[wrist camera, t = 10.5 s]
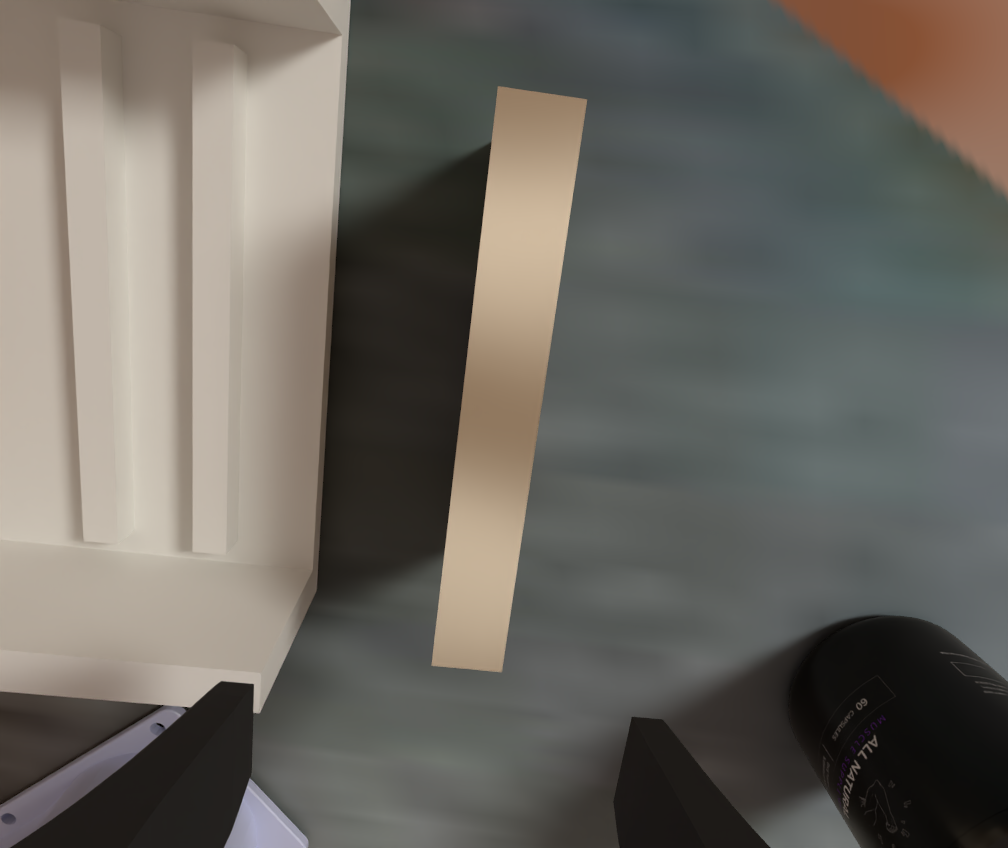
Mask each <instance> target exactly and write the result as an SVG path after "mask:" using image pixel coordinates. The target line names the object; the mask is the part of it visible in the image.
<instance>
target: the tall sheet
mask: <svg viewBox="0 0 1008 848" xmlns="http://www.w3.org/2000/svg"><path fill="white" fill-rule="evenodd" d="M586 103H587V99H580V98H573V97H566V96H560V95H553V94H546V93H539V92H533V91H526V90H519V89H513V88H506V87H499V86H498V92H497V100H496V109H495V118H494V127H493V135H492V144H491V153H490V161H489V170H488V179H487V188H486V196H485V205H484V214H483V222H482V231H481V240H480V248H479V257H478V266H477V275H476V283H475V292H474V301H473V309H472V318H471V327H470V336H469V344H468V353H467V362H466V370H465V379H464V388H463V397H462V405H461V414H460V423H459V431H458V440H457V449H456V458H455V466H454V475H453V484H452V492H451V501H450V510H449V519H448V527H447V536H446V545H445V553H444V562H443V571H442V580H441V588H440V597H439V606H438V614H437V623H436V632H435V641H434V649H433V658H432V666H441V667H452V668H463V669H474V670H485V671H496V672H502V667H503V660H504V653H505V646H506V640H507V633H508V626H509V620H510V613H511V606H512V600H513V593H514V586H515V579H516V573H517V566H518V559H519V553H520V546H521V539H522V532H523V526H524V519H525V512H526V506H527V499H528V492H529V486H530V479H531V472H532V465H533V459H534V452H535V445H536V439H537V432H538V425H539V418H540V412H541V405H542V398H543V392H544V385H545V378H546V372H547V365H548V358H549V351H550V345H551V338H552V331H553V325H554V318H555V311H556V304H557V298H558V291H559V284H560V278H561V271H562V264H563V258H564V251H565V244H566V237H567V231H568V224H569V217H570V211H571V204H572V197H573V191H574V184H575V177H576V170H577V164H578V157H579V150H580V144H581V137H582V130H583V123H584V117H585V110H586Z"/></svg>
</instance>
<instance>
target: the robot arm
mask: <svg viewBox="0 0 1008 848" xmlns="http://www.w3.org/2000/svg"><path fill="white" fill-rule="evenodd" d="M253 704H254V684H249V683H238V682H226V681H220V682H219V683H218V684H216V685H215V686H214V687H213V688H212V689H210V690H209V691H208V692H207V693H206V694H205V695H204V696H203V697H202V698H200V699H199V700H198V701H197V702H196V703H195V704H194V705H193V706H192V707H191V708H189V709H188V710H187V711H186V710H185V709H184V708H183V707H180V706H169V705H164V706H163V707H161V708H159V709H158V710H156V711H154V712H153V713H151V714H149V715H148V716H146V717H144V718H143V719H141V720H140V721H138V722H136V723H135V724H133V725H131V726H130V727H128V728H126V729H125V730H123V731H121V732H120V733H118V734H117V735H115V736H113V737H112V738H110V739H108V740H107V741H105V742H103V743H102V744H100V745H98V746H97V747H95V748H93V749H92V750H90V751H89V752H87V753H85V754H84V755H82V756H80V757H79V758H77V759H75V760H74V761H72V762H70V763H69V764H67V765H65V766H64V767H62V768H61V769H59V770H57V771H56V772H54V773H52V774H51V775H49V776H47V777H46V778H44V779H42V780H41V781H39V782H37V783H36V784H34V785H33V786H31V787H29V788H28V789H26V790H24V791H23V792H21V793H19V794H18V795H16V796H14V797H13V798H11V799H9V800H8V801H6V802H5V803H3V804H1V805H0V848H308V840H307V838H306V837H305V836H304V834H303V833H302V832H301V831H300V830H299V829H298V828H297V827H296V826H295V825H294V824H293V823H292V822H291V821H290V820H289V819H288V818H287V817H286V815H285V814H284V813H283V812H282V811H281V810H280V809H279V808H278V807H277V806H276V805H275V804H274V803H273V802H272V801H271V800H270V799H269V798H268V797H267V795H266V794H265V793H264V792H263V791H262V790H261V789H260V788H259V787H258V786H257V785H256V784H255V783H254V782H253V781H252V780H251V779H250V776H251V772H252V738H253ZM157 723H160V724H162V725H164V727H160V726H159V725H157ZM614 809H615V817H616V825H617V833H618V839H619V846H620V848H770V847H769V846H768V845H767V844H766V843H765V841H764V840H763V839H762V838H761V837H760V836H759V835H758V834H757V833H756V832H755V831H754V830H753V829H752V828H751V826H750V825H749V824H748V823H747V822H746V821H745V820H744V818H743V817H742V816H741V815H740V814H739V813H738V812H737V811H736V809H735V808H734V807H733V806H732V805H731V804H730V802H729V801H728V800H727V799H726V798H725V796H724V795H723V794H722V793H721V792H720V791H719V789H718V788H717V787H716V786H715V785H714V783H713V782H712V781H711V780H710V778H709V777H708V776H707V775H706V773H705V772H704V771H703V770H702V768H701V767H700V766H699V765H698V763H697V762H696V761H695V760H694V758H693V757H692V756H691V755H690V753H689V752H688V751H687V750H686V748H685V747H684V746H683V744H682V743H681V742H680V741H679V739H678V738H677V737H676V736H675V734H674V733H673V732H672V731H671V729H670V728H669V727H668V726H667V724H666V723H665V722H664V721H663V720H661V719H650V718H638V717H632V719H631V724H630V728H629V733H628V737H627V742H626V747H625V751H624V756H623V760H622V765H621V770H620V774H619V779H618V783H617V788H616V793H615V797H614Z"/></svg>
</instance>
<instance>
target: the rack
mask: <svg viewBox="0 0 1008 848" xmlns="http://www.w3.org/2000/svg"><path fill="white" fill-rule="evenodd" d="M350 4H351V0H0V691H3V692H15V693H27V694H38V695H50V696H62V697H74V698H86V699H98V700H109V701H121V702H133V703H145V704H157V705H169V706H180V707H192V706H193V705H194V704H195V703H196V702H197V701H198V700H199V699H200V698H202V697H203V696H204V695H205V694H206V693H207V692H208V691H209V690H210V689H212V688H213V687H214V686H215V685H216V684H218V683H219V682H220V681H226V682H238V683H249V684H254V704H253V713H260V712H261V709H262V707H263V705H264V703H265V701H266V699H267V696H268V694H269V692H270V690H271V688H272V686H273V684H274V681H275V679H276V677H277V675H278V673H279V671H280V668H281V666H282V664H283V662H284V660H285V658H286V656H287V653H288V651H289V649H290V647H291V645H292V643H293V640H294V638H295V636H296V634H297V632H298V630H299V628H300V625H301V623H302V621H303V619H304V617H305V615H306V612H307V610H308V608H309V606H310V604H311V602H312V599H313V597H314V595H315V593H316V591H317V577H318V560H319V542H320V525H321V508H322V490H323V473H324V456H325V438H326V421H327V403H328V386H329V369H330V351H331V334H332V316H333V299H334V282H335V264H336V247H337V230H338V212H339V195H340V177H341V160H342V143H343V125H344V108H345V90H346V73H347V56H348V38H349V21H350Z"/></svg>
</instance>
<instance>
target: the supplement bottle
mask: <svg viewBox="0 0 1008 848" xmlns="http://www.w3.org/2000/svg"><path fill="white" fill-rule="evenodd" d="M788 708H789V718H790V723H791V727H792V730H793V732H794V735H795V737H796V739H797V741H798V743H799V745H800V746H801V748H802V750H803V752H804V753H805V755H806V757H807V759H808V761H809V762H810V764H811V766H812V767H813V769H814V771H815V772H816V774H817V776H818V777H819V779H820V781H821V782H822V784H823V786H824V787H825V789H826V791H827V792H828V794H829V796H830V797H831V799H832V800H833V802H834V804H835V805H836V807H837V809H838V810H839V812H840V814H841V815H842V817H843V819H844V820H845V822H846V824H847V825H848V827H849V829H850V830H851V832H852V834H853V835H854V837H855V839H856V840H857V842H858V844H859V845H860V847H861V848H1008V682H1007V681H1006V680H1005V679H1004V678H1003V677H1002V676H1001V675H999V674H998V673H997V672H996V671H995V670H994V669H993V668H992V667H990V666H989V665H988V664H987V663H986V662H985V661H984V660H982V659H981V658H980V657H979V656H978V655H977V654H976V653H974V652H973V651H972V650H971V649H969V648H968V647H967V646H966V645H965V644H964V643H963V642H961V641H960V640H959V639H958V638H956V637H955V636H954V635H952V634H951V633H950V632H948V631H947V630H945V629H943V628H942V627H940V626H938V625H935V624H933V623H931V622H928V621H925V620H922V619H917V618H912V617H904V616H884V617H876V618H870V619H866V620H862V621H859V622H856V623H853V624H851V625H849V626H846V627H844V628H842V629H840V630H838V631H837V632H835V633H833V634H832V635H830V636H829V637H827V638H826V639H825V640H823V641H822V642H821V643H820V644H819V645H817V646H816V647H815V648H814V649H813V650H812V651H811V652H810V654H809V655H808V656H807V657H806V659H805V660H804V661H803V663H802V664H801V666H800V668H799V669H798V671H797V673H796V676H795V678H794V680H793V683H792V686H791V690H790V695H789V705H788Z"/></svg>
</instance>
